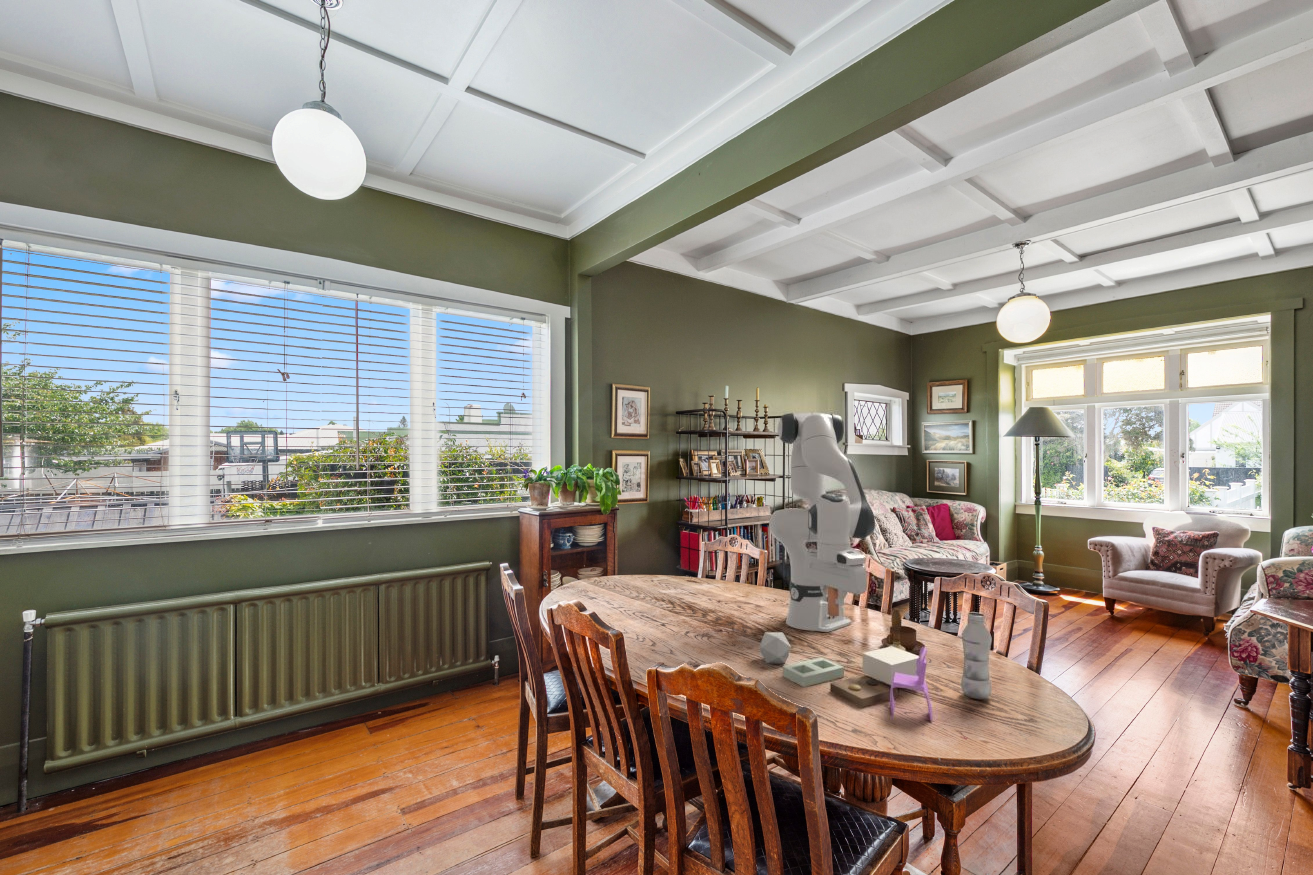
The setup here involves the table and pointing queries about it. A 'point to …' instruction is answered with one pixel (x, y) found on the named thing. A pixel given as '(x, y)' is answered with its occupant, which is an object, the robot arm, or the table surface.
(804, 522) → the robot arm
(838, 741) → the table surface
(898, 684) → the toy chair
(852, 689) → the pattern board
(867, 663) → the white block
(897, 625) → the hand bell
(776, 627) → the table surface
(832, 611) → the terracotta peg
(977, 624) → the plastic bottle
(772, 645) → the die
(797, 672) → the socket board
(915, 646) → the cup and saucer
